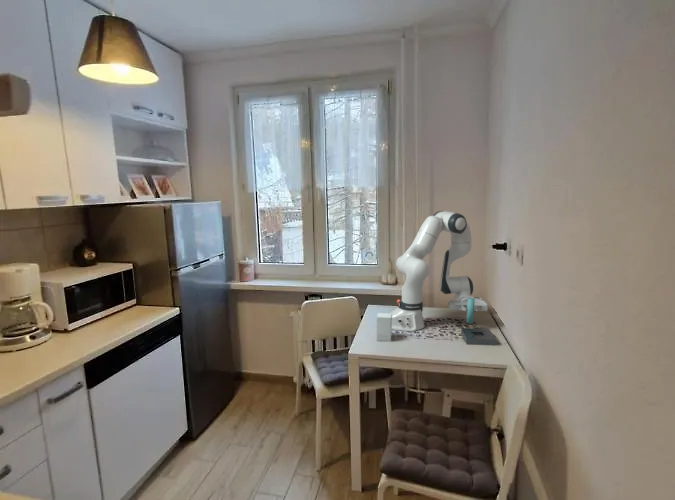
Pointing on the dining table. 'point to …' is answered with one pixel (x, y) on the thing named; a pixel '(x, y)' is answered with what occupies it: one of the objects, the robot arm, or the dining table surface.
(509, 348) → the dining table surface
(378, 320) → the supplement box
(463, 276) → the robot arm
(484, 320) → the dining table surface
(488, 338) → the socket block
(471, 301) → the peg
